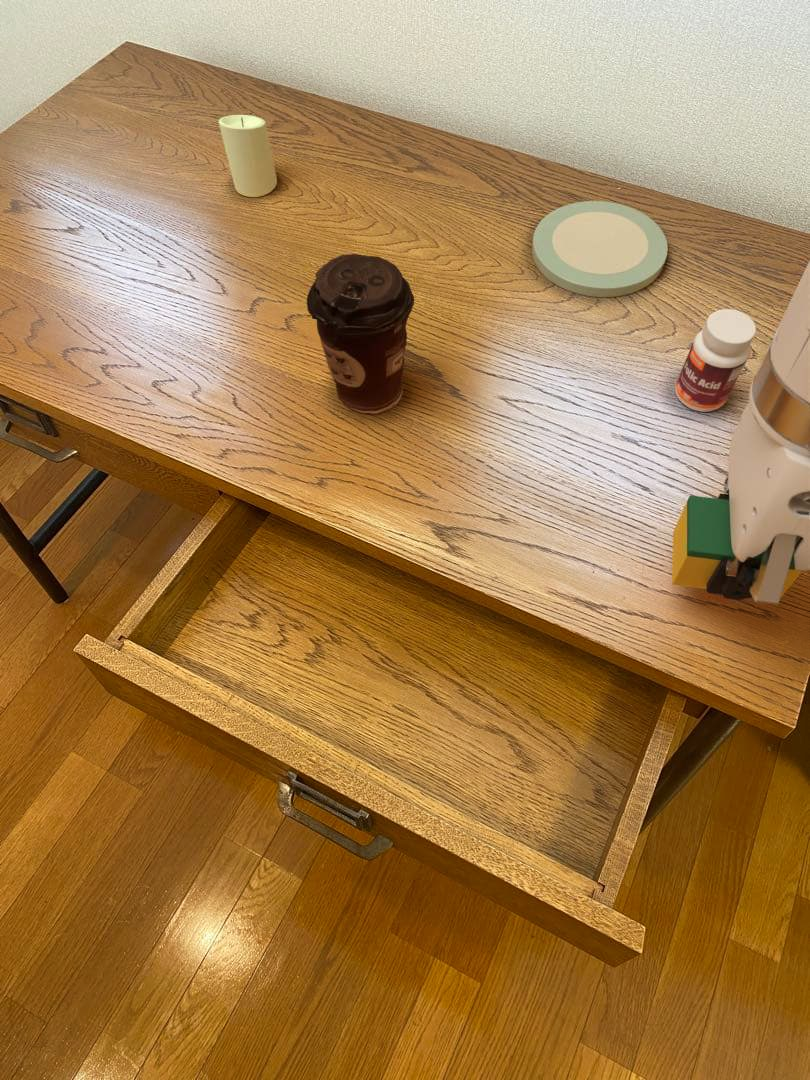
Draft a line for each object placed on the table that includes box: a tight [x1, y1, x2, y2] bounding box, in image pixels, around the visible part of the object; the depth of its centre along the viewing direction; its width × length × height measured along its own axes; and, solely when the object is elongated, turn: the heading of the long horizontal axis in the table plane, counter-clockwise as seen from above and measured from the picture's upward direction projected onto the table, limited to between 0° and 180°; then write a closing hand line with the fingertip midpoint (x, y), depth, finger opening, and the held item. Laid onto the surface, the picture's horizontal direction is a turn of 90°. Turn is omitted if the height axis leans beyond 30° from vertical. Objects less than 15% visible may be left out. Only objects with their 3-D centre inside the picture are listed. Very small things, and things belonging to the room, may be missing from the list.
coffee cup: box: [306, 253, 415, 415], centre depth 65 cm, size 9×8×13 cm
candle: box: [217, 114, 278, 198], centre depth 84 cm, size 5×5×8 cm
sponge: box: [671, 495, 804, 599], centre depth 53 cm, size 8×5×5 cm, turn 79°
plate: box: [531, 200, 669, 298], centre depth 79 cm, size 14×14×1 cm
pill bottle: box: [674, 308, 757, 413], centre depth 65 cm, size 5×5×8 cm
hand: (728, 558), depth 54 cm, fingers closed on sponge, 4 cm apart
